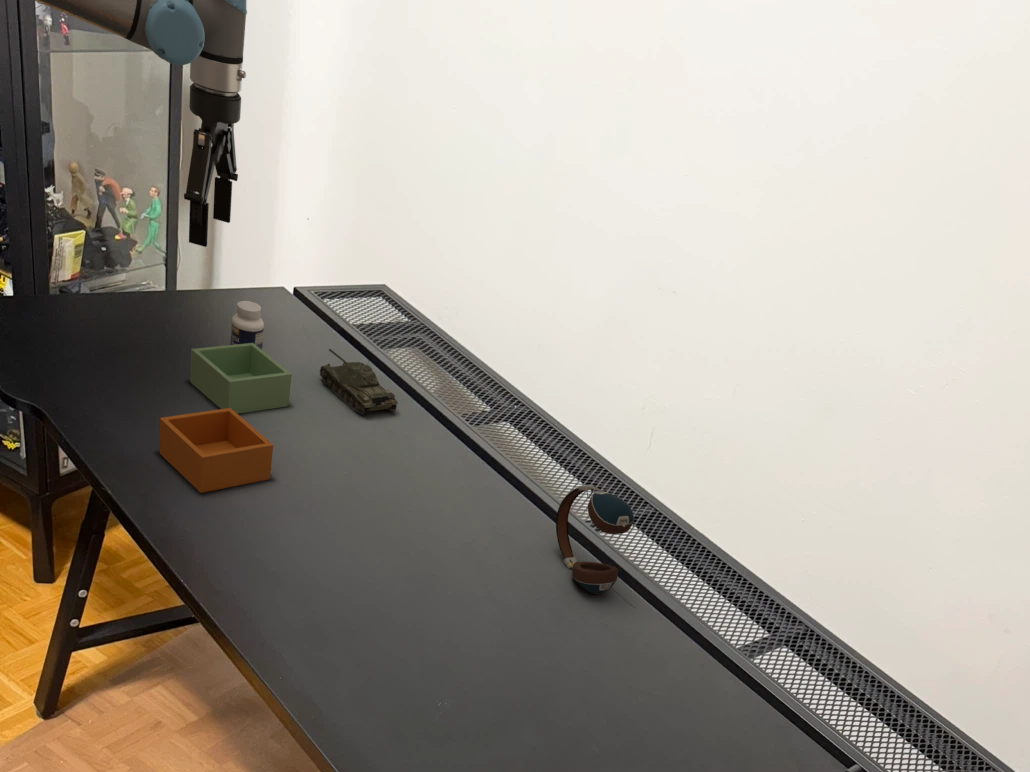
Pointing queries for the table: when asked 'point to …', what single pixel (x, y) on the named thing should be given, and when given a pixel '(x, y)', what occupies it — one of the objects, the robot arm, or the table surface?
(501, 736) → the table surface
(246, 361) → the green bin
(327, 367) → the toy tank
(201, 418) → the amber bin
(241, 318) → the pill bottle
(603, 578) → the headphones
